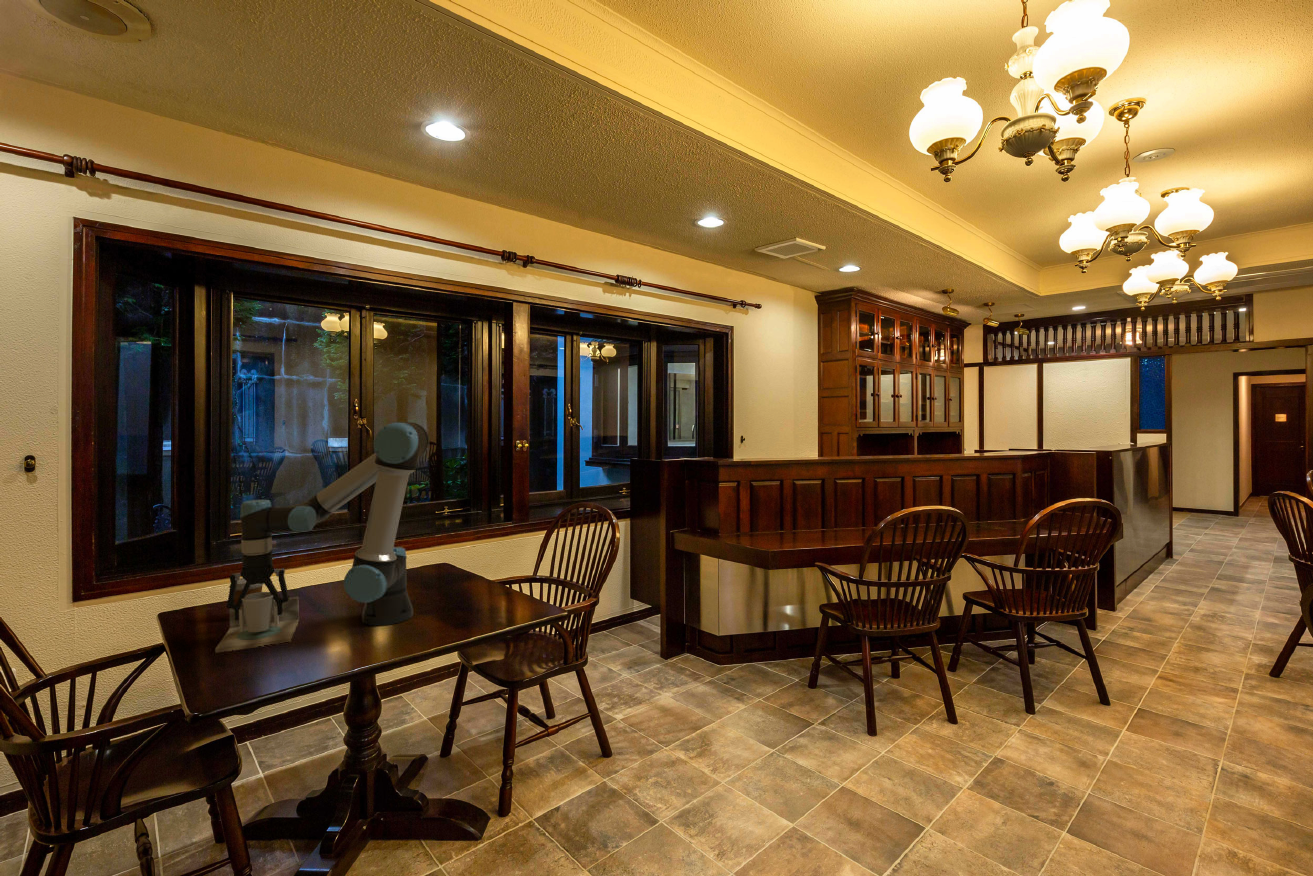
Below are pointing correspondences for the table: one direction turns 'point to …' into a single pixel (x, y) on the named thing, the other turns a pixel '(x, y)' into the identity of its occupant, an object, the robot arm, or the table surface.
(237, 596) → the disposable coffee cup
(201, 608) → the table surface
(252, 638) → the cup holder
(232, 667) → the table surface
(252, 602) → the dixie cup
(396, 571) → the robot arm
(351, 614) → the table surface
